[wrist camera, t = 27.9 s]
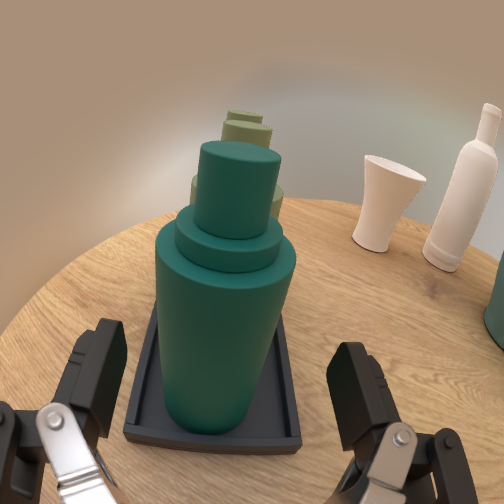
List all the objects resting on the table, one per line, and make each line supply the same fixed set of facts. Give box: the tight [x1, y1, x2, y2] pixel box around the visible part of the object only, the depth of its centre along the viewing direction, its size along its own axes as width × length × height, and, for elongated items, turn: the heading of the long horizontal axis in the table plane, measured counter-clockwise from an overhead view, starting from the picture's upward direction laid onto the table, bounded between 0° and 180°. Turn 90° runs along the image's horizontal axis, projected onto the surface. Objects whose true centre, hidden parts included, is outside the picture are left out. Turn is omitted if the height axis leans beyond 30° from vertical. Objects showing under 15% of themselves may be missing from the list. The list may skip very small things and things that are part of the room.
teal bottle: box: [155, 141, 296, 436], centre depth 15 cm, size 6×6×17 cm
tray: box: [123, 300, 302, 455], centre depth 26 cm, size 23×11×2 cm, turn 3°
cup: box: [352, 155, 427, 252], centre depth 44 cm, size 10×10×14 cm
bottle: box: [422, 103, 502, 272], centre depth 39 cm, size 8×8×30 cm
